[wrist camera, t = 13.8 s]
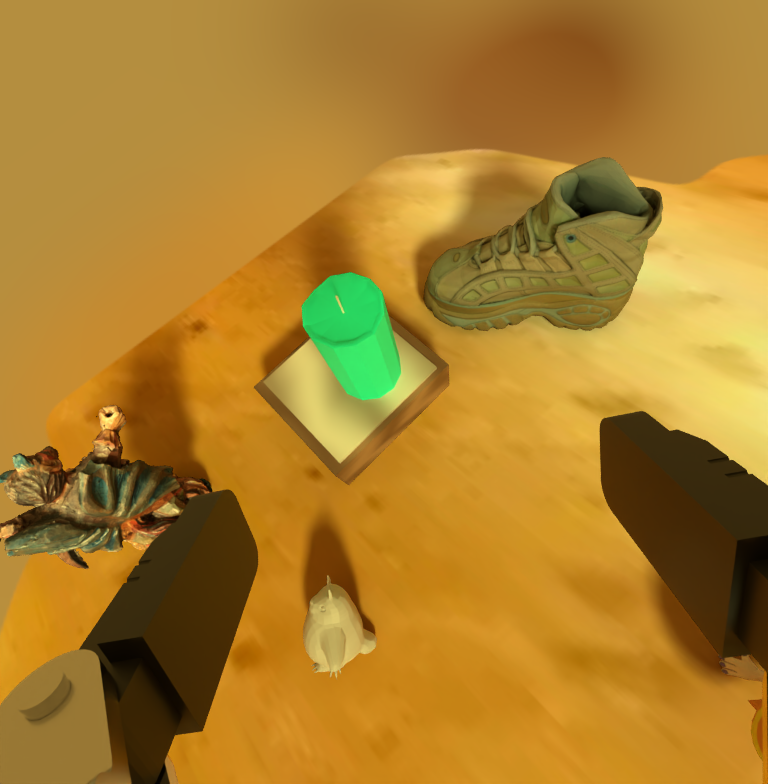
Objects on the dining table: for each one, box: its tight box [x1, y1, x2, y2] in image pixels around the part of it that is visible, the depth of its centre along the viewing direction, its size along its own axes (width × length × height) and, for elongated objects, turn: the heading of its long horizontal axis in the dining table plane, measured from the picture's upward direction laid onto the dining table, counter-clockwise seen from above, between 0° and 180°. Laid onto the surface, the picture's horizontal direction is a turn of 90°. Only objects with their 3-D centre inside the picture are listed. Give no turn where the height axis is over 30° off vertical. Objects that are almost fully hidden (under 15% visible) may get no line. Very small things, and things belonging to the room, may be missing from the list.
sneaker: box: [424, 157, 663, 331], centre depth 39 cm, size 11×19×15 cm, turn 69°
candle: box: [302, 272, 401, 400], centre depth 34 cm, size 6×6×12 cm
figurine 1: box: [0, 405, 212, 569], centre depth 36 cm, size 11×9×18 cm
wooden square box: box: [254, 315, 449, 485], centre depth 42 cm, size 14×12×5 cm
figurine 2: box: [303, 575, 377, 679], centre depth 35 cm, size 8×6×8 cm
